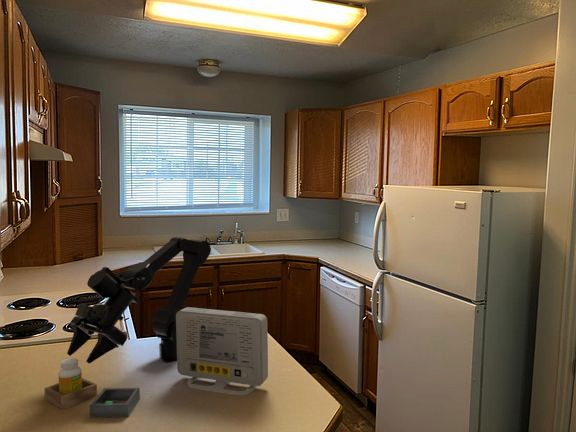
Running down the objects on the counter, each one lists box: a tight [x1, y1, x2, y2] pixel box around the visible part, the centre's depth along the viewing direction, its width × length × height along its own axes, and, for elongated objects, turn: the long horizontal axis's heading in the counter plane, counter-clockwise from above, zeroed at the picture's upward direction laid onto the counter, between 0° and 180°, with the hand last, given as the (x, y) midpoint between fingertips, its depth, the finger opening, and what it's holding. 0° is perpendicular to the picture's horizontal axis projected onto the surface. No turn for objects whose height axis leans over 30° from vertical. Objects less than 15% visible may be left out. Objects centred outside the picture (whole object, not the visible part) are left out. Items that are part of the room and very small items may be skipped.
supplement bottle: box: [58, 357, 83, 395], centre depth 120 cm, size 5×5×10 cm
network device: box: [176, 306, 269, 396], centre depth 126 cm, size 26×9×20 cm, turn 71°
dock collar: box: [89, 387, 141, 419], centre depth 114 cm, size 9×9×4 cm
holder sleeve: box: [43, 377, 98, 410], centre depth 120 cm, size 9×9×3 cm
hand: (77, 358), depth 121 cm, fingers open, 9 cm apart
